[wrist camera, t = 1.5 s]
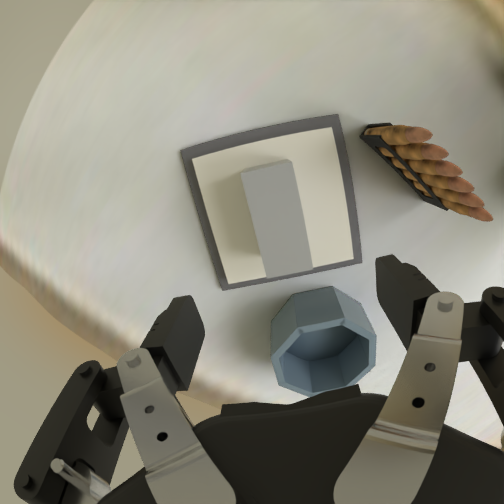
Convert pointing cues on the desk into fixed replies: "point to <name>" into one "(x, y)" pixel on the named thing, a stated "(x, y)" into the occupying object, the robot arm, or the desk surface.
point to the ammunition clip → (425, 168)
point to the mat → (263, 135)
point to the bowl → (321, 342)
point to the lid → (276, 205)
